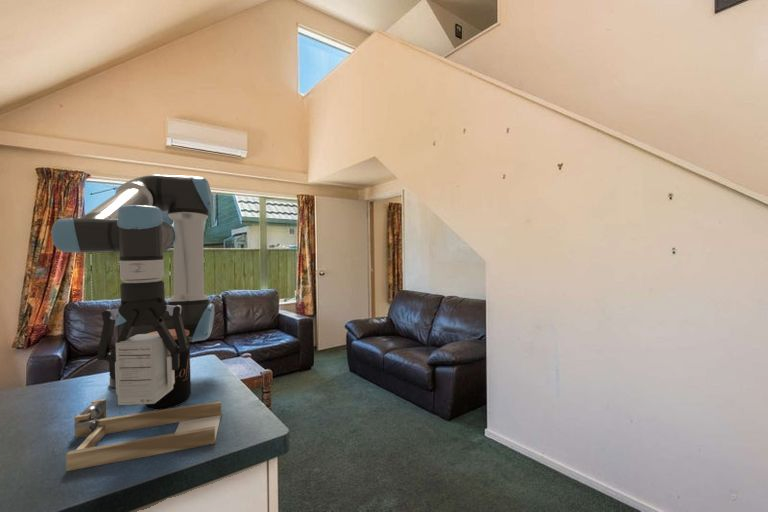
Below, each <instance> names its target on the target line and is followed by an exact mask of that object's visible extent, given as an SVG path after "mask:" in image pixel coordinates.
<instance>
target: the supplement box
mask: <svg viewBox="0 0 768 512" xmlns="http://www.w3.org/2000/svg"><path fill="white" fill-rule="evenodd" d="M114 344H115V345H114V346H116V372H117V394H116V395H117V405H118V406H128V405H130V406H131V405H132V406H134V405H135V406H136V405H144V404H154V403H156V402H157V401H159V400H160V399H161V398H162V397H164V396H165V395H166V394H167V393H169V392H170V391H171V390H172V389H173V386H172V387H169V388H168V377H167V356H168V355H169V354H170V352H169V350H168V349H167V347H166V345H165V344H164V342H163V340H162V339H161V337H160V335H159V334H137V335H135V336H133V337H130V338H128V339H127V340H125V341H121V342H118V343H116V342H115V343H114Z"/></svg>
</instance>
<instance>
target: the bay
mask: <svg viewBox="0 0 768 512" xmlns="http://www.w3.org/2000/svg"><path fill="white" fill-rule="evenodd" d="M222 413H223V412H222V400H218V401H211V402H205V403H199V404H198V403H197V404H191V405H185V406H175V407H171V408H166V409H159V410H151V411H143V412H137V413H129V414H125V415H117V416H109V417H106V418H103V419H100V420H99V424H98V425H97V426H96V428H94V430H93V431H91V434H90V435H89V436H86V438H85V440H84V441H82V443H81V444H80V445H79V446H78V447H77V448H76V449H74V450H69V451H68V452H67V453H66V454H65V461H66V468H65V469H66V472H70V471H77V470H81V469H85V468H87V469H88V468H92V467H96V466H102V465H108V464H111V463H112V464H113V463H119V462H123V461H130V460H133V459H134V460H135V459H139V458H146V457H151V456H155V455H161V454H167V453H171V452H177V451H183V450H188V449H192V448H199V447H205V446H210V445H215V444H214V443H215V442H216V439H215V426H213V427H208V428H202V429H196V430H190V431H184V432H178V433H175V432H174V433H167V434H163V435H155V436H151V437H150V436H149V437H144V438H138V439H137V438H136V439H131V440H126V441H120V442H114V443H109V444H103V445H98V443H99V442H100V441H101V440H102V439H103V437H104V436H105V435H107V434H114V433H115V434H116V433H121V432H126V431H133V430H139V429H146V428H150V427H151V428H152V427H157V426H164V425H169V424H175V423H180V422H181V421H187V420H193V419H199V418H206V417H212V416H218V415H221V416H222ZM209 444H210V445H209ZM96 445H98V446H96ZM204 445H205V446H204ZM198 446H199V447H198Z"/></svg>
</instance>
